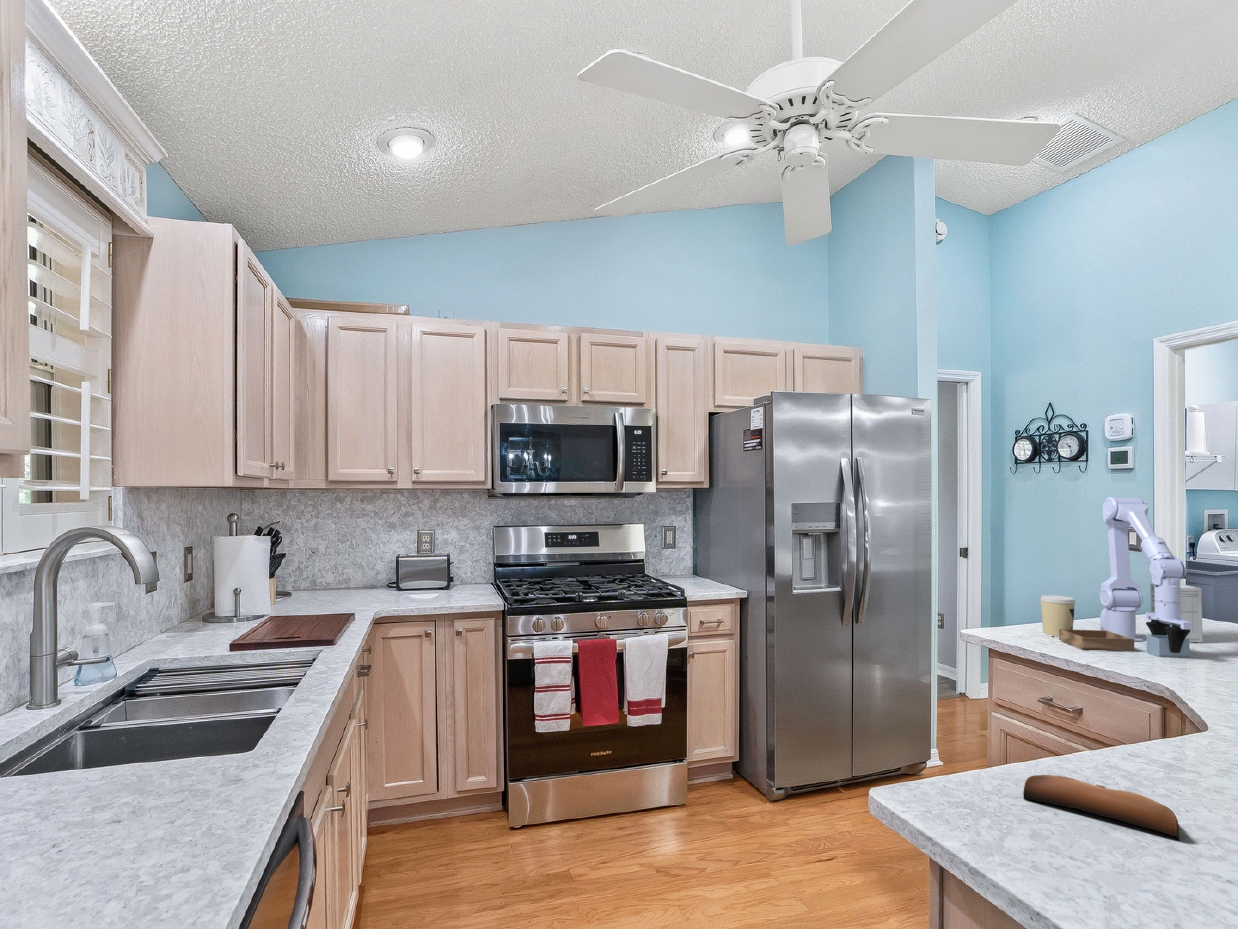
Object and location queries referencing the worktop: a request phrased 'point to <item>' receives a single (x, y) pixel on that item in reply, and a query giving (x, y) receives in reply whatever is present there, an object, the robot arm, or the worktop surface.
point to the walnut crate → (1096, 640)
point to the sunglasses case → (1102, 802)
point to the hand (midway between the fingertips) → (1167, 650)
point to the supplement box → (1188, 609)
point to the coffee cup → (1057, 613)
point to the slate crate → (1165, 646)
